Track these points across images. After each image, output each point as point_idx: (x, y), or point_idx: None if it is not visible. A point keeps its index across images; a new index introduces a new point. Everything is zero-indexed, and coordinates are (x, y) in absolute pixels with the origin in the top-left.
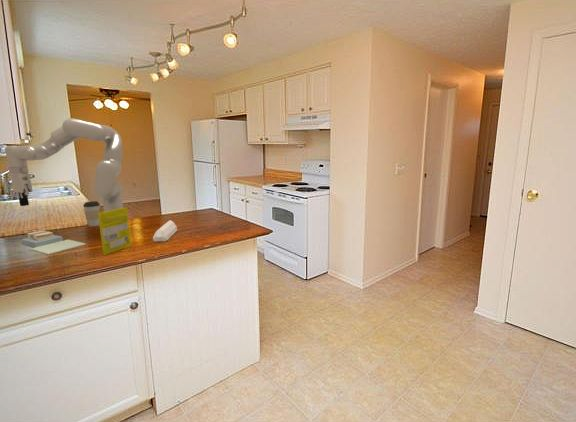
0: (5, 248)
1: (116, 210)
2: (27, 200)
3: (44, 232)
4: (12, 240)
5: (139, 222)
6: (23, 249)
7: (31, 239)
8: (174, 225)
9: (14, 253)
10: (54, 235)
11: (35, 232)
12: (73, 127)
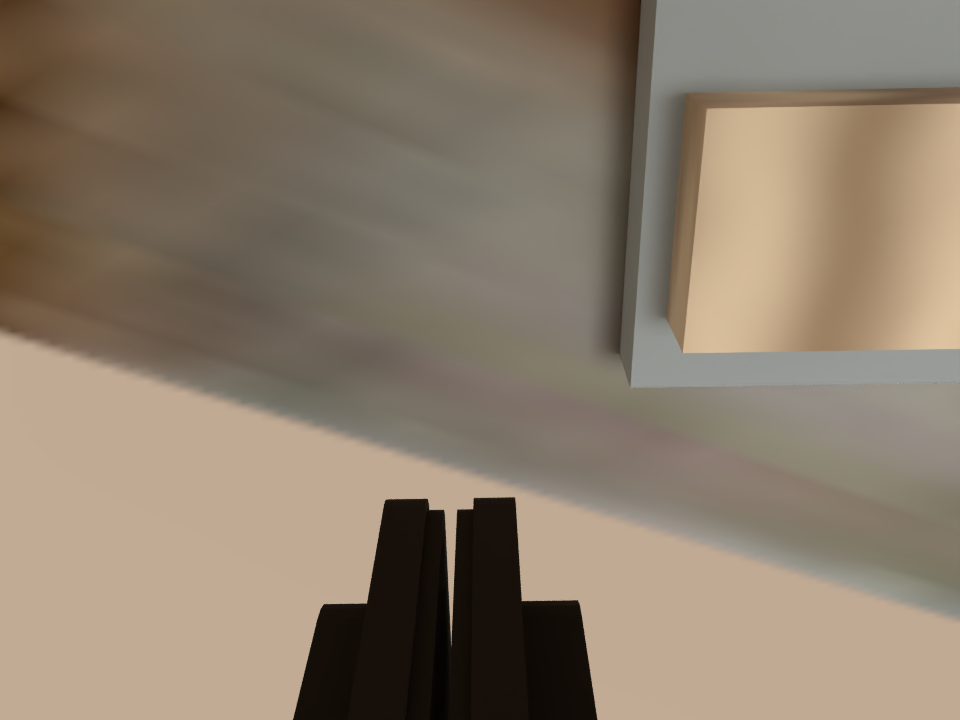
0: (644, 518)
1: None
2: (519, 662)
3: (909, 178)
4: (294, 344)
5: None
6: (902, 445)
7: None
8: None
9: (955, 544)
10: (934, 14)
11: (741, 256)
12: None
